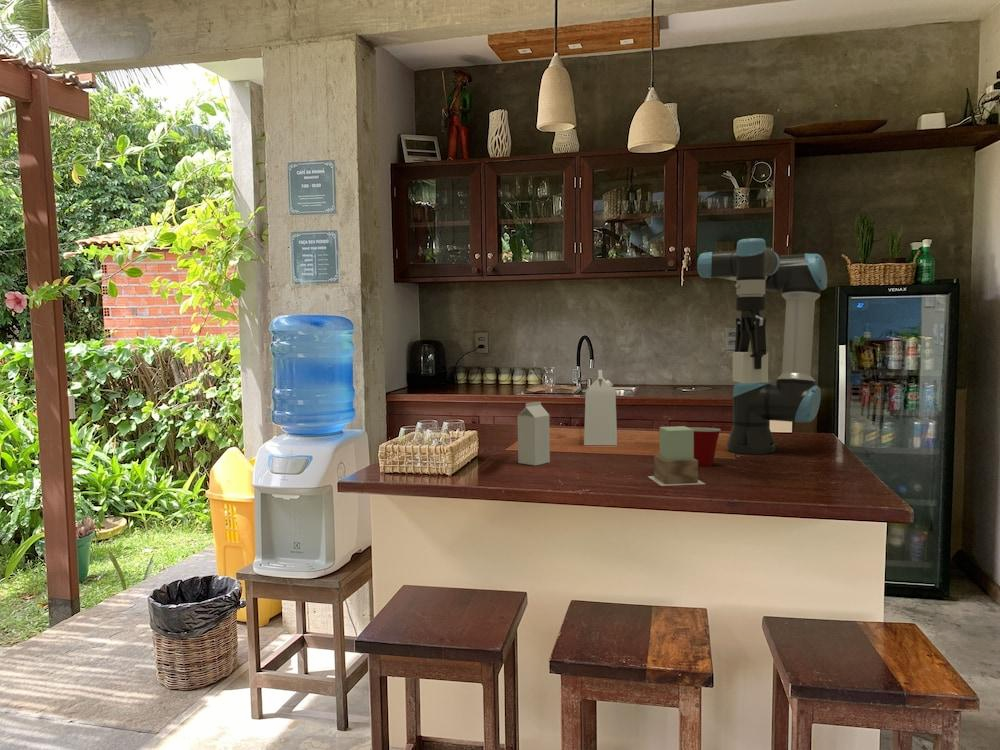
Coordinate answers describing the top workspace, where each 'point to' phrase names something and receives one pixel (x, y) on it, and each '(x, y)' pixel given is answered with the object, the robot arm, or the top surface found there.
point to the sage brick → (676, 443)
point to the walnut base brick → (675, 471)
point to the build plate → (672, 484)
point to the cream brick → (747, 367)
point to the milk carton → (533, 435)
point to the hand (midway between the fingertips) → (749, 380)
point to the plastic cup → (705, 445)
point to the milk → (600, 413)
